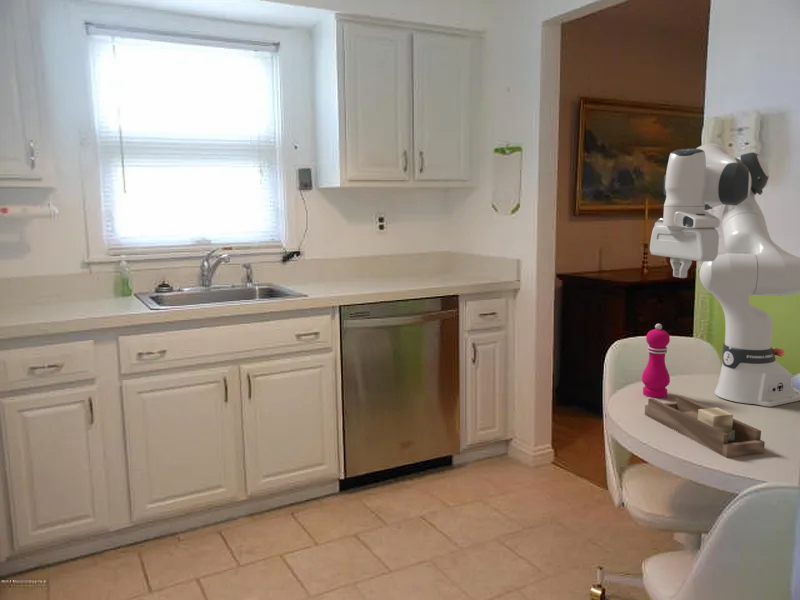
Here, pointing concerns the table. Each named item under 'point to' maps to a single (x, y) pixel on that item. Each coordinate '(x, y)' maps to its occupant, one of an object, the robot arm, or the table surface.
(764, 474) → the table surface
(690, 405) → the tray
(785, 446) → the table surface
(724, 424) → the maple block
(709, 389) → the table surface
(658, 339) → the pepper mill
